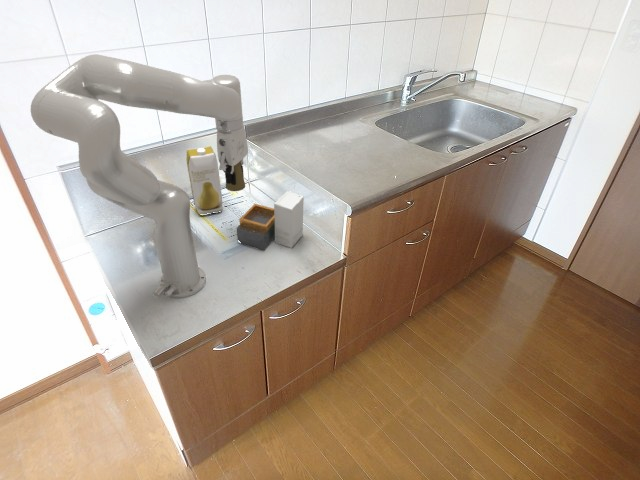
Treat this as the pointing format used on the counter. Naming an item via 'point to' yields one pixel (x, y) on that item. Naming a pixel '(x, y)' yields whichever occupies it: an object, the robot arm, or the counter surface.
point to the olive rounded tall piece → (237, 179)
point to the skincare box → (288, 219)
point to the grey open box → (257, 227)
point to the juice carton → (204, 179)
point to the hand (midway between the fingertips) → (234, 179)
